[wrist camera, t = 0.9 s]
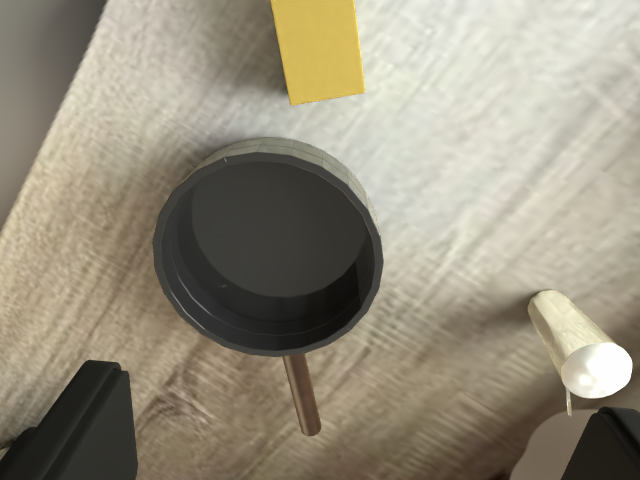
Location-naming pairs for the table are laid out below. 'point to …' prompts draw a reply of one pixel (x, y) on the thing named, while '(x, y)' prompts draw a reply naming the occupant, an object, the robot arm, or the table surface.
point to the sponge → (318, 48)
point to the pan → (269, 248)
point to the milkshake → (578, 348)
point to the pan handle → (302, 393)
